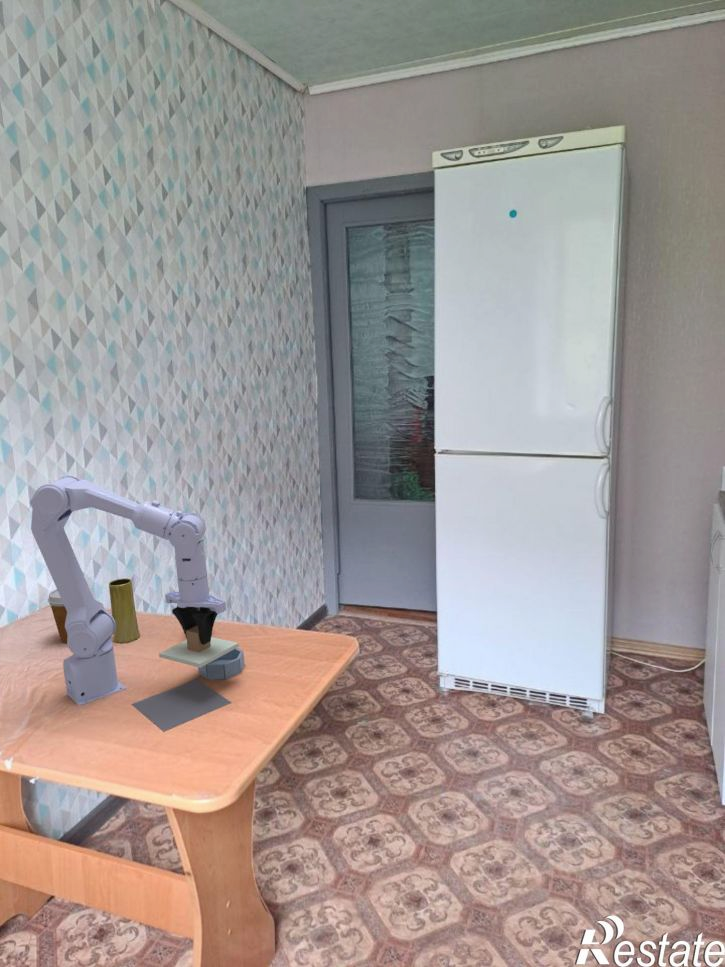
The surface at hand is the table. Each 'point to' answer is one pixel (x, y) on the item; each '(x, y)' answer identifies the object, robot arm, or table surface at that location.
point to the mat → (180, 704)
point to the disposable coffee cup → (58, 613)
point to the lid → (198, 649)
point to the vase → (123, 610)
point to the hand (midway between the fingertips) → (199, 640)
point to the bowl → (224, 666)
